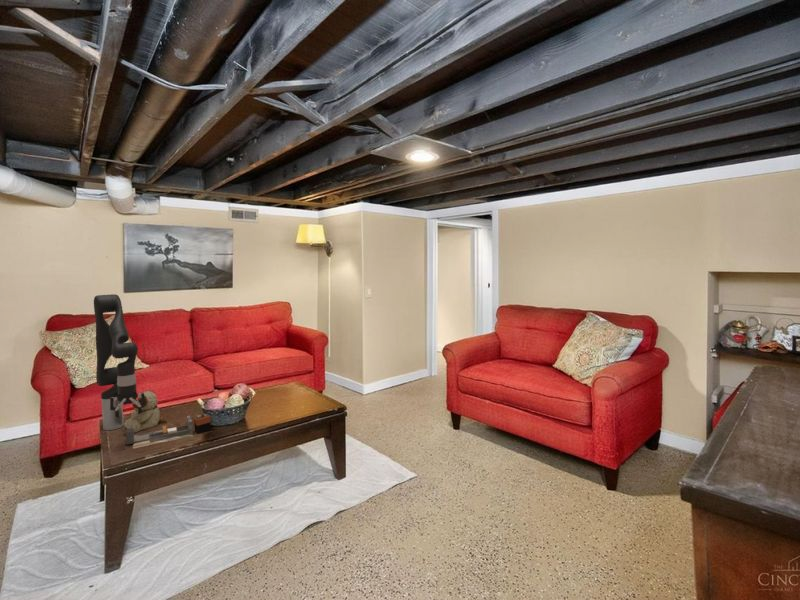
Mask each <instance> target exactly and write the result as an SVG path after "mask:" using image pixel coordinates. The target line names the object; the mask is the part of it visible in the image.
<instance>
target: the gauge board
mask: <svg viewBox="0 0 800 600" xmlns="http://www.w3.org/2000/svg"><path fill="white" fill-rule="evenodd" d="M175 427H176V429H177V432H174V433H169V434H164V435H159V436H154V437H150V438H147V439H142V440H137V441H134V443H132V449H137V448H141V447H142V448H143V447H147V446H150V445H156V444H161V443H166V442H171V441H175V440H180V439H184V438H189V437H194V432H193V431H194V429H193V419H192V417H191V415H187V416H186V424H185V425H179V426H174V427H173V428H175ZM170 428H171V427H169V428H168V429H170ZM160 430H161V429H158V430H157V431H160ZM154 431H155V430H153V431H152V432H154Z"/></svg>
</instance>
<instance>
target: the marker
mask: <svg viewBox="0 0 800 600" xmlns="http://www.w3.org/2000/svg"><path fill="white" fill-rule="evenodd" d="M174 427H175V428H174ZM174 427H169V428H170V429H169V428H167V434H169V433H174V432H177V429H176V427H177V426H174Z"/></svg>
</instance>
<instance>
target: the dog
mask: <svg viewBox="0 0 800 600" xmlns="http://www.w3.org/2000/svg"><path fill="white" fill-rule="evenodd" d="M143 392H144V396H145V405H143V406H142V407H141V410H142V412H141V413H140V414H138V406H137V405H136V404H135V403H132V404H131V405H132V407H133V409H134V410H133V411H132V412H131V415H130V418H128V419H127V420H126V421H125V422H124V425H123V427H124V430H126V429H130V428H133V429H134V434H135V433H137V432H139V431H142V430H147V429H150V428H153V427H155V426H158V425H163V424H167V423H168V419H167V418H163V419H161V417H160V416H161V412H160V407H159V406H158V403H159V401H158V398H157V395H156V394H155V392H154V391H153V390H144V391H143ZM137 400H138V402H140V403H142V398H140V397H139V396H138V397H137Z"/></svg>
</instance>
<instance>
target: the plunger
mask: <svg viewBox="0 0 800 600" xmlns="http://www.w3.org/2000/svg"><path fill="white" fill-rule="evenodd" d="M167 429H168V428H167V425H162V429H159V430H160V431H158V430H153V431H154V432H153V431H149V432H144V433H140V434H136V435H135V433H134V429H133V428H130V429H125V437H126V439H125V440H126V445H131V444H132V445H133V443H134V441H137V440H142V439H147V438H150V437H154V436H159V435H164V434H167Z"/></svg>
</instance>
